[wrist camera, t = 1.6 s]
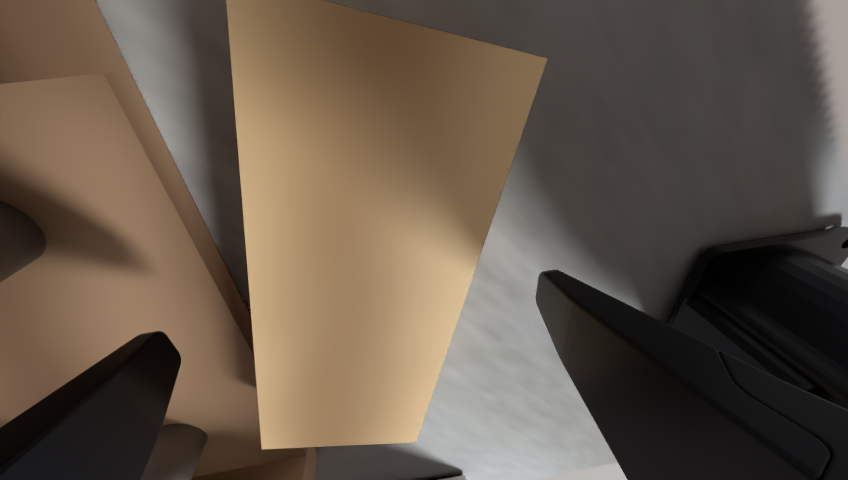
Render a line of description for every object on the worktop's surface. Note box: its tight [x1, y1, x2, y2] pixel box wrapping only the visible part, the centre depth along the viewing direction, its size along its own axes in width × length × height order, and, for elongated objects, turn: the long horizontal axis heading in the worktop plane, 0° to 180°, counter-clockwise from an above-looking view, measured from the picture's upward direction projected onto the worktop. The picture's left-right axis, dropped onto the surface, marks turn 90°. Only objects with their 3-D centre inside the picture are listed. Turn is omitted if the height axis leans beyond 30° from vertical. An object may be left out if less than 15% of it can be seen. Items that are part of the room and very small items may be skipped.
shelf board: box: [226, 0, 548, 449], centre depth 9 cm, size 5×12×3 cm, turn 168°
